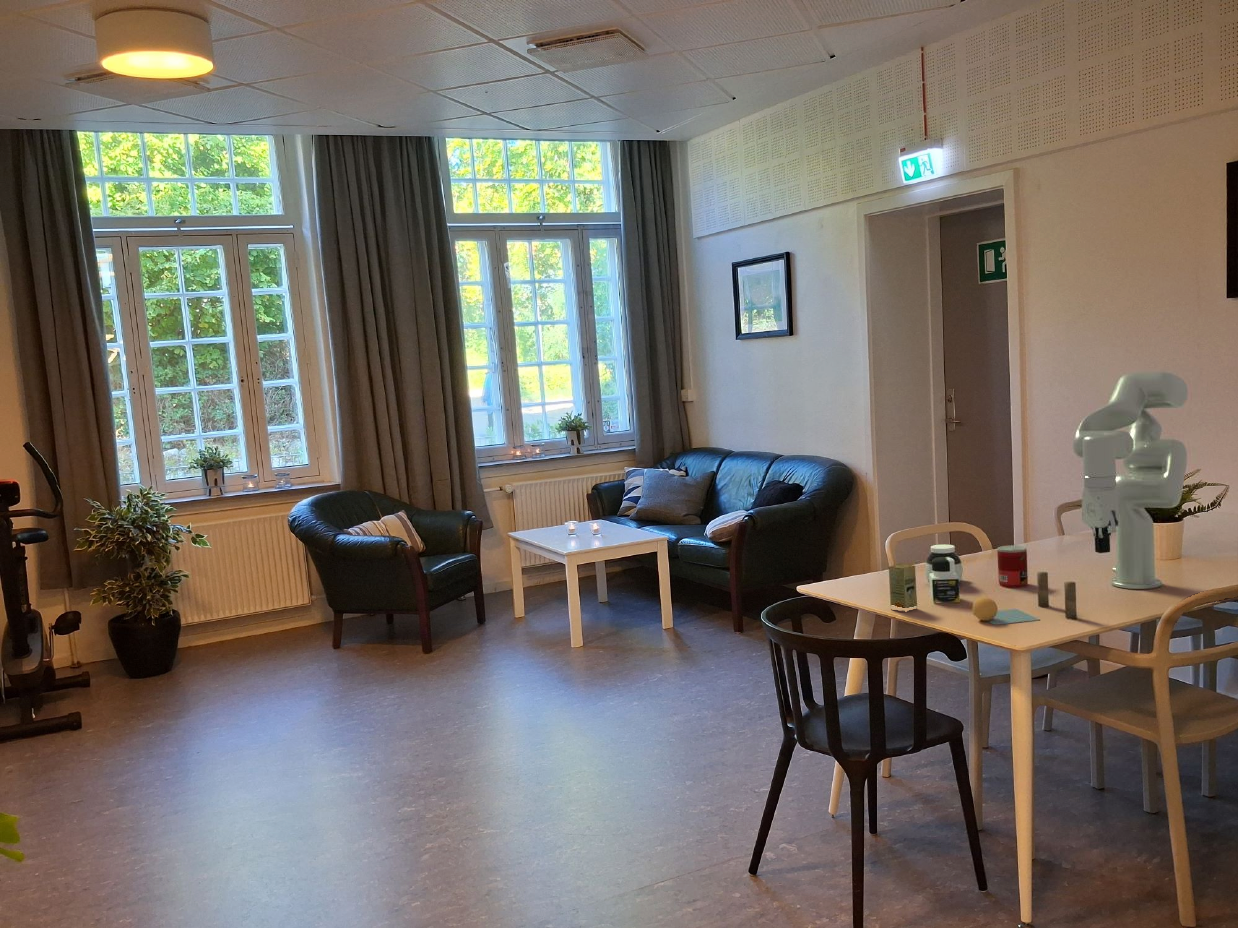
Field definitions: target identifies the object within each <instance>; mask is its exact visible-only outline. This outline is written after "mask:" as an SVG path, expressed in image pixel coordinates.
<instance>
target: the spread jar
mask: <svg viewBox="0 0 1238 928" xmlns="http://www.w3.org/2000/svg"><path fill="white" fill-rule="evenodd" d="M955 548H956V547H955V545H953V544H935V545H931V546H930V553H929V554H928V556H927V557H926V559H925V576H926V580H927V582H928V583H929V584H930V581H929V574H930V573H932V560H933V559H935V558H938V557H949V558H952V559H954V562H955V573H956V575H957V576H958V578H959V584H960V583H961V581H962V580H963V573H964V572H963V571H964V567H963V565H962V564H963V563H962V561H961V557H960V556H959V555H958V554H957V553H956V552H955V551H956V550H955Z"/></svg>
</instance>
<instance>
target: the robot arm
mask: <svg viewBox="0 0 1238 928" xmlns="http://www.w3.org/2000/svg"><path fill="white" fill-rule="evenodd" d="M1188 391H1189V389H1188V387H1187V383H1186V381H1185V380H1184V379H1183V378H1182V377H1180V376H1178V375H1177V374H1173V373H1171V372H1168V371H1147V372H1146V371H1142V372H1130V373H1127V374H1124V375H1122V376H1121V377H1120V378H1119V379H1118V381H1117V382H1116V384H1115V387H1114V389H1113V392H1112V394H1111V396H1110V397H1109V401H1108V402H1107V404H1105V405H1104V406H1101V407H1099V408H1098V409H1096V410H1094V411H1093V412H1091V413H1090V414H1088V415H1087V416H1085V417H1084V418H1083V420H1081V422H1080V424H1079V426H1078V427H1077V430H1076V432H1075V435H1074V437H1073V442H1072V449H1073V452H1074V454H1075V455H1076V456H1077V457H1078V458H1080V459H1082V461H1083V489H1082V496H1081V522H1083V523H1084V525H1087V526H1088V527H1089V528H1090V529H1091V530H1092V534H1093V535H1092V536H1093V537H1094V552H1095V553H1098V554H1104V553H1106V554H1107V553H1110V552H1111V537H1112V534H1113V533H1115V546H1116V547H1115V548H1116V549H1115V551H1116V566H1115V567H1112V569H1111V571H1112V572H1113V573H1115V577H1112V578H1111V580H1110V584H1111V585H1112V586H1113V587H1117V588H1122V589H1128V590H1147V589H1148V590H1149V589H1156V588H1159V587H1161V586H1162V580H1161V579H1159V578H1157V577H1156V570H1155V569H1156V566H1155V561H1156V560H1155V527H1154V521H1153V518H1152V517H1151V515H1150V514H1149V513H1148V512H1147V510H1146V508H1154V509H1155V508H1159V509H1171V508H1175V507H1177V506H1178V505H1179V504H1180V502H1181V499H1182V495H1183V489H1184V488H1183V487H1184V482H1185V477H1186V470H1187V464H1188V452H1187V448H1186V446H1185V444H1184V443H1183V442H1182V441H1181V440H1178V439H1173V438H1172V439H1171V438H1170V439H1169V438H1167V439H1166V438H1165V439H1163V438H1162V439H1161V437H1162V436H1161V435H1162V426H1161V424H1160V422H1159V421H1158V419H1157V418H1156V417H1155V416H1154V415H1153V414H1151V413H1150V412H1149V411H1148V410H1147V409H1150V410H1151V409H1175V408H1176V409H1178V408H1181V407H1182V406H1184V405H1185V403H1186V402H1187V399H1188V395H1189V394H1188V393H1189V392H1188ZM1126 427H1127V431H1124V430H1120V429H1123V428H1126ZM1116 460H1122V465H1123V467H1124V468H1125V470H1126V471H1128V472H1123V473H1119V474H1117V469H1116V467H1117V466H1116V465H1117V464H1116Z"/></svg>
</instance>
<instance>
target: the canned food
mask: <svg viewBox="0 0 1238 928" xmlns="http://www.w3.org/2000/svg"><path fill="white" fill-rule="evenodd" d="M997 571H998V573H997V574H998V576H997V577H998V585H999V586H1001V587H1005V588H1011V589H1015V588H1019V589H1020V588H1025V587H1027V586H1028V584H1029V579H1028V578H1029V577H1028V575H1029V574H1028V552H1027V547H1026V546H1023V545H1013V544H1012V545H1002V546H998V547H997Z"/></svg>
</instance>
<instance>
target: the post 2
mask: <svg viewBox="0 0 1238 928" xmlns="http://www.w3.org/2000/svg"><path fill="white" fill-rule="evenodd" d="M1063 585H1064V611H1065V612H1064V615H1065V619H1067V620H1069V619H1070V620H1074V619H1075V620H1076V619H1077V618H1078V617H1077V616H1078V614H1077V590H1076V589H1077V587H1076V585H1077V583H1076V582H1075V581H1064V583H1063Z"/></svg>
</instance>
